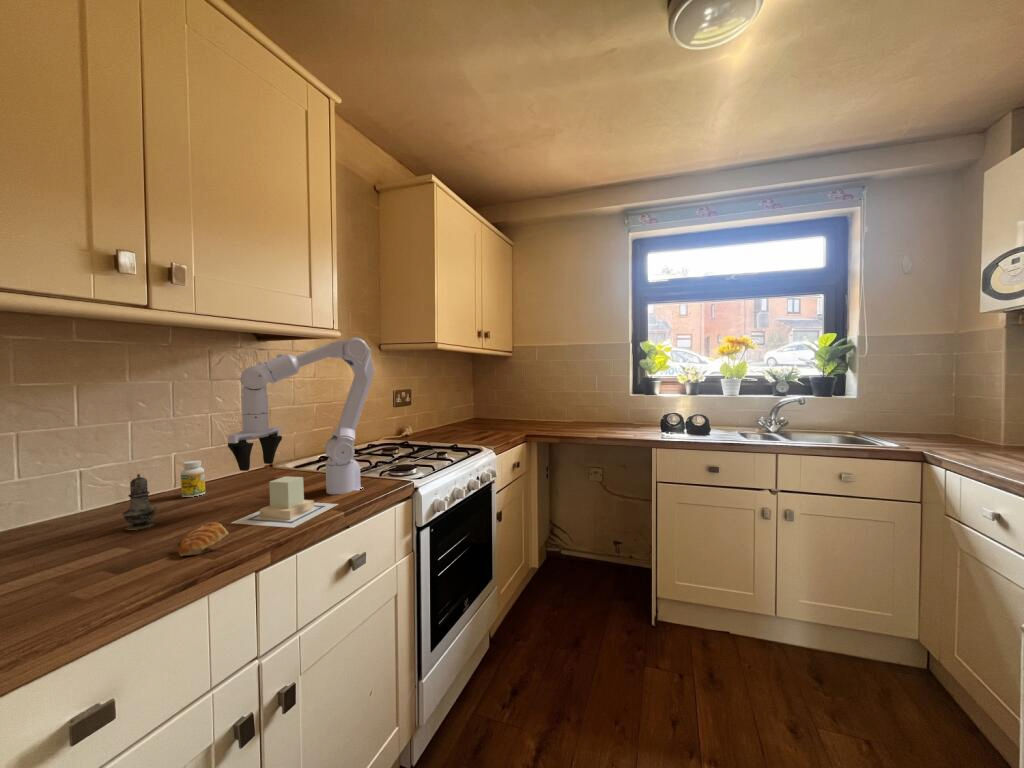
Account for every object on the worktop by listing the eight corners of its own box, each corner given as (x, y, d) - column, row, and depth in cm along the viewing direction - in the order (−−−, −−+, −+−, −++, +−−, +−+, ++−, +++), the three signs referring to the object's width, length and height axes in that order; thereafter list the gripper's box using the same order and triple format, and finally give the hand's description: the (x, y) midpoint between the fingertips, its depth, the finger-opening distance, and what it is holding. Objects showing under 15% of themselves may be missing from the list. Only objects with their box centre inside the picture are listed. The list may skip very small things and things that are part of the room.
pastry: (208, 557, 77) (207, 537, 77) (166, 561, 76) (165, 540, 76) (231, 537, 87) (230, 519, 86) (194, 541, 85) (193, 522, 85)
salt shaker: (164, 523, 95) (162, 471, 95) (134, 532, 89) (132, 477, 89) (145, 520, 97) (143, 469, 96) (115, 530, 91) (113, 476, 91)
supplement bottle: (209, 492, 120) (207, 459, 120) (199, 497, 115) (198, 463, 114) (187, 493, 119) (186, 460, 118) (177, 499, 114) (176, 464, 113)
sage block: (286, 500, 101) (285, 476, 101) (303, 501, 100) (303, 477, 100) (270, 507, 96) (269, 481, 96) (288, 508, 95) (287, 482, 95)
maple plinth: (285, 506, 103) (285, 498, 103) (314, 508, 101) (313, 500, 101) (260, 517, 95) (259, 509, 95) (290, 519, 93) (290, 511, 93)
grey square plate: (283, 504, 107) (283, 500, 107) (338, 507, 104) (338, 503, 104) (230, 527, 92) (230, 522, 92) (293, 532, 88) (293, 527, 88)
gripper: (264, 410, 113) (265, 460, 113) (216, 416, 98) (218, 473, 99) (286, 411, 111) (288, 461, 112) (241, 416, 97) (243, 474, 97)
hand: (256, 466), depth 105 cm, fingers open, 7 cm apart
